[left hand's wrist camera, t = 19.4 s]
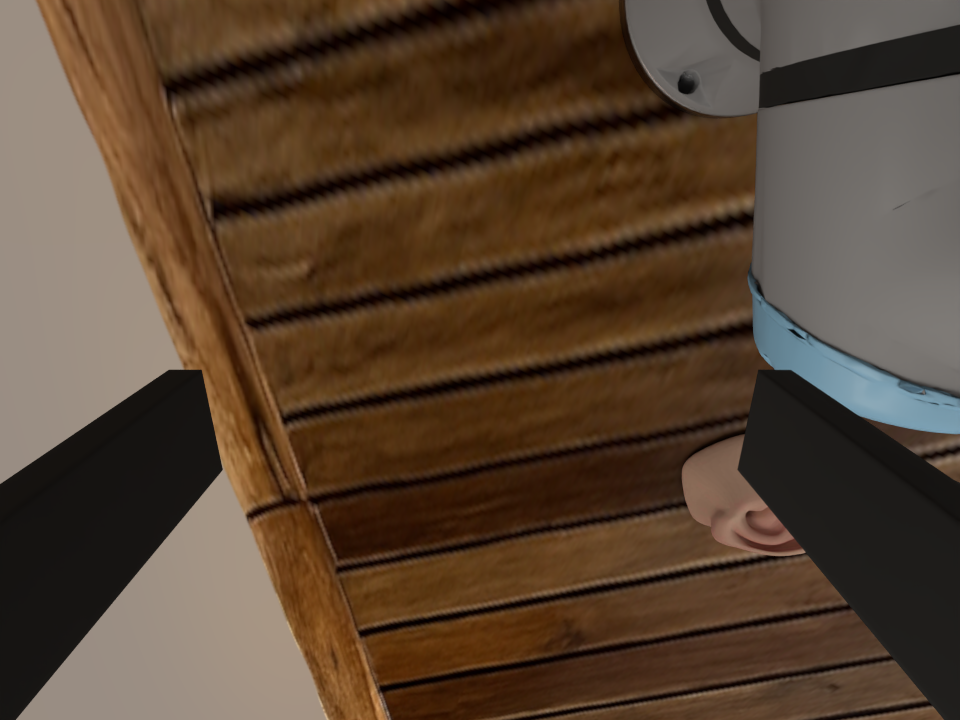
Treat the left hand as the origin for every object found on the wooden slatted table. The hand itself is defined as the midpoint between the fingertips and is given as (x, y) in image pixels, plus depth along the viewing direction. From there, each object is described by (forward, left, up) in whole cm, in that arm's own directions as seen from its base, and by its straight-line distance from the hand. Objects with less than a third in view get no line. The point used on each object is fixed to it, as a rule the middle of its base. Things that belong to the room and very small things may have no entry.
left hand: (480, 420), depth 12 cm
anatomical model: (-18, +28, -29) cm, 44 cm away
